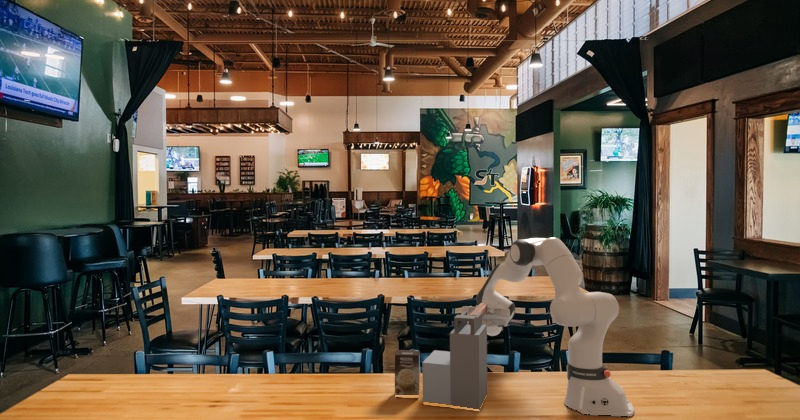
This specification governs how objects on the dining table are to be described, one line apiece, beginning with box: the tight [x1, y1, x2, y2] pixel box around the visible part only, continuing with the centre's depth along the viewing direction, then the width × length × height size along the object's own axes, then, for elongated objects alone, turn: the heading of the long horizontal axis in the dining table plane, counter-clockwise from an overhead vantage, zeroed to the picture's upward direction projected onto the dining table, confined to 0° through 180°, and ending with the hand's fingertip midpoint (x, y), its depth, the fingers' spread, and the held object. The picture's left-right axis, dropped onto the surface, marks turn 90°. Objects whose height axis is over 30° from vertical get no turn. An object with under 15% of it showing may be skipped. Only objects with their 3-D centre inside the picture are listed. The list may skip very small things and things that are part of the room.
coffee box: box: [394, 349, 421, 396], centre depth 191 cm, size 9×6×16 cm
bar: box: [470, 303, 488, 318], centre depth 204 cm, size 3×24×3 cm, turn 161°
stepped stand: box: [421, 311, 488, 411], centre depth 186 cm, size 20×16×32 cm
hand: (483, 307), depth 212 cm, fingers closed on bar, 3 cm apart
